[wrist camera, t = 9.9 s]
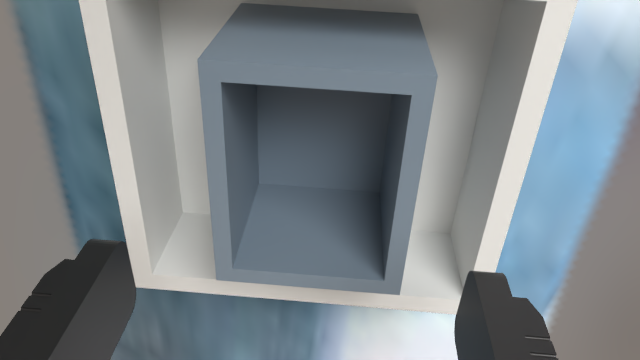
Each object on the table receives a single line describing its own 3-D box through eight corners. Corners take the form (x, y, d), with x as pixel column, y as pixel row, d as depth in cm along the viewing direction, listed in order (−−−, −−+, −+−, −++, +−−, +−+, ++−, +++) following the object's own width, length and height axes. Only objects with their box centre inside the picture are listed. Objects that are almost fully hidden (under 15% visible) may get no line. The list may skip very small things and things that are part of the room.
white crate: (134, -82, 19) (67, -61, 14) (534, -58, 18) (586, -28, 14) (173, 214, 26) (135, 287, 21) (461, 237, 25) (481, 316, 21)
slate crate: (241, 2, 19) (197, 59, 14) (418, 13, 19) (437, 75, 14) (248, 186, 23) (216, 280, 18) (391, 197, 23) (399, 295, 18)
